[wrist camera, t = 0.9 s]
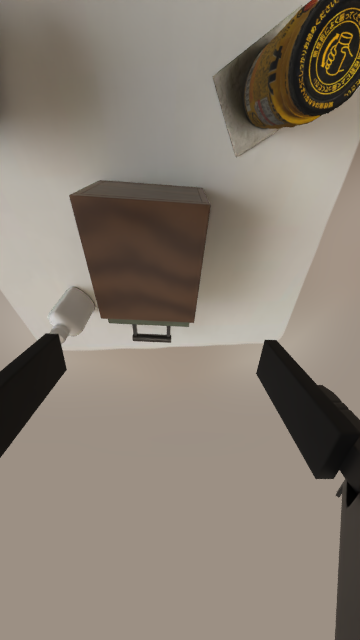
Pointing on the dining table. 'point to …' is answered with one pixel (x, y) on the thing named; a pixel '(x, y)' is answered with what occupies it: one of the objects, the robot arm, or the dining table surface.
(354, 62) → the condiment
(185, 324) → the drawer
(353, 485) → the robot arm
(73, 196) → the cabinet
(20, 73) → the dining table surface
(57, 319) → the eye dropper bottle
